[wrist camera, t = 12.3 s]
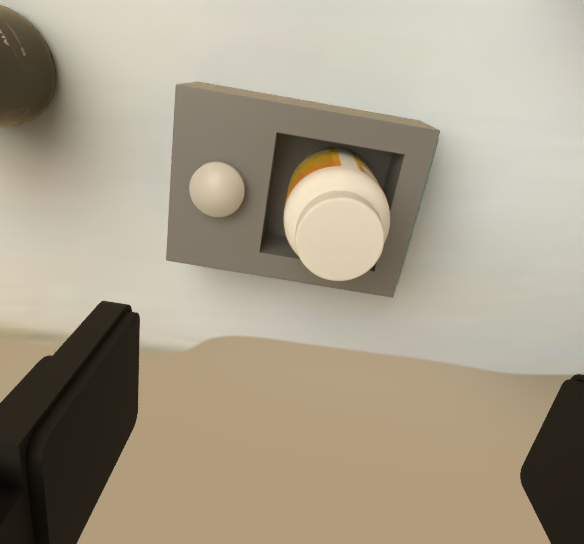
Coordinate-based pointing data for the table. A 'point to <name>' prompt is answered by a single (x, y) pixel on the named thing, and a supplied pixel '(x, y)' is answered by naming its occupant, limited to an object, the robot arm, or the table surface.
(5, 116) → the supplement bottle
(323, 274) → the supplement bottle
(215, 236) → the grey hollow block
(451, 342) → the table surface
